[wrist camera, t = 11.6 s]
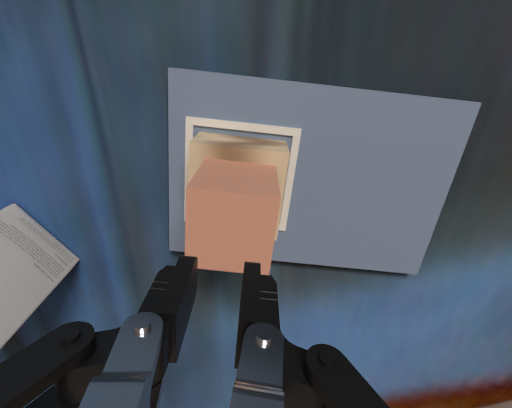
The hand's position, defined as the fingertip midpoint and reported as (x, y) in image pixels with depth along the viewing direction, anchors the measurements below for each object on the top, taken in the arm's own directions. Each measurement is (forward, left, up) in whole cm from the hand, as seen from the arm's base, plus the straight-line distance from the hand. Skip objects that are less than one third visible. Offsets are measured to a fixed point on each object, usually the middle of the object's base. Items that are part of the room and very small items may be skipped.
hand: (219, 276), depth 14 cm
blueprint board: (-6, 0, -15) cm, 16 cm away
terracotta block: (0, 0, -10) cm, 10 cm away
